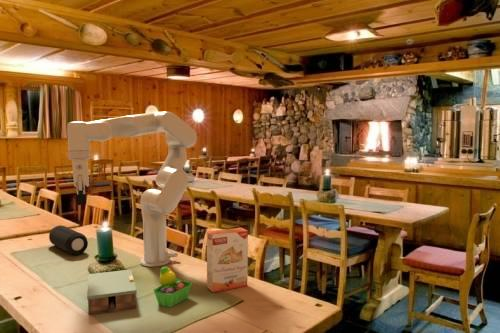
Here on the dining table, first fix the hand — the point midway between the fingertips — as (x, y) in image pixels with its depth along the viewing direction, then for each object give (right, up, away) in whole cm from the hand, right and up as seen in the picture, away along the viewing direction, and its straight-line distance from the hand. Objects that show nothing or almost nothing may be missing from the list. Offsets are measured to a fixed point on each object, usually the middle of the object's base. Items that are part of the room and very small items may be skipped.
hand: (81, 204), depth 156 cm
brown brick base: (+16, -31, -15) cm, 38 cm away
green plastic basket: (+37, -31, -16) cm, 50 cm away
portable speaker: (-23, -26, +42) cm, 54 cm away
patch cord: (+16, -30, -16) cm, 38 cm away
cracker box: (+55, -30, -4) cm, 62 cm away
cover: (+16, -26, -15) cm, 34 cm away
